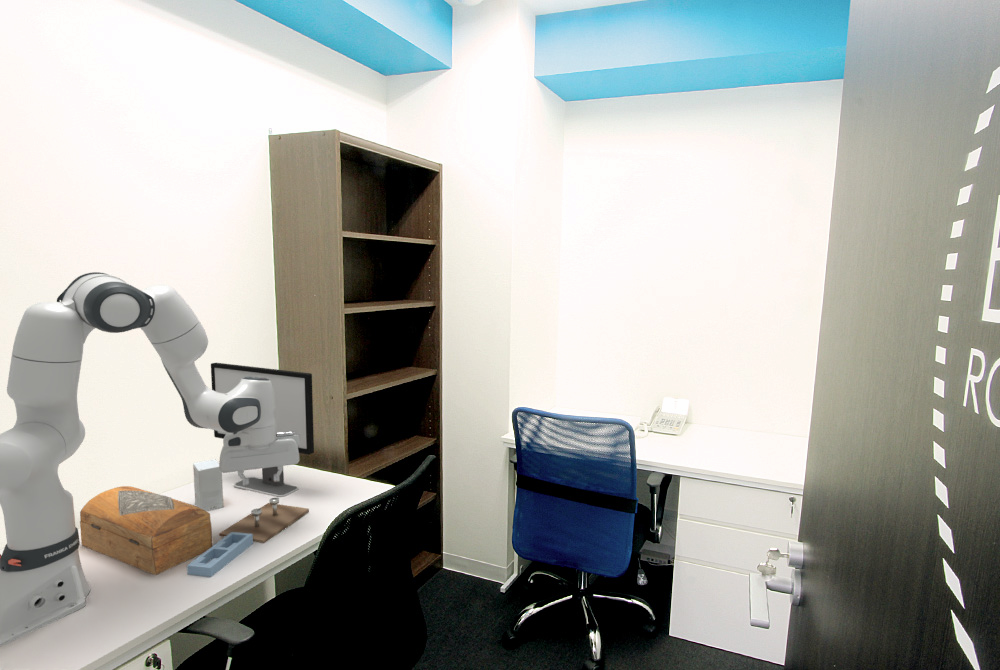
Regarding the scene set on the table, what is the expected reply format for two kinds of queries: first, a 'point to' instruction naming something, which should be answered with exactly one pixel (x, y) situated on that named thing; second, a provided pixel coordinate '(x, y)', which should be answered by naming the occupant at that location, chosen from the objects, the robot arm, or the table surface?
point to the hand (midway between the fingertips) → (261, 482)
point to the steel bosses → (259, 511)
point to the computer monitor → (288, 413)
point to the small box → (208, 485)
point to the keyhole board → (267, 522)
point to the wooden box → (144, 528)
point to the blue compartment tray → (220, 554)
